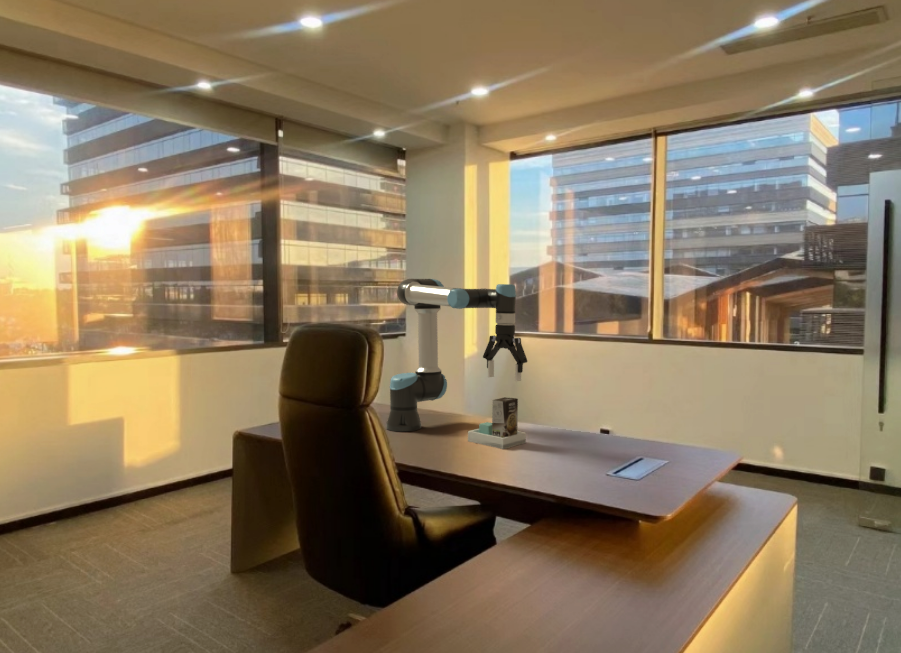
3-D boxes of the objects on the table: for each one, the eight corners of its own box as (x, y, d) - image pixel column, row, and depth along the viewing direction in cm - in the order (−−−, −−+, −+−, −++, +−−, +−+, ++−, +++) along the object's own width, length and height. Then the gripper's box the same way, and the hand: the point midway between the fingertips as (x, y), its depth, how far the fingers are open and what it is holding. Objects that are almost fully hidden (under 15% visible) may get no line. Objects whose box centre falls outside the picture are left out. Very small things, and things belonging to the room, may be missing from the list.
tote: (467, 441, 248) (467, 431, 248) (490, 435, 258) (491, 425, 258) (503, 449, 235) (503, 438, 235) (525, 442, 245) (525, 432, 245)
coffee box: (505, 443, 238) (505, 401, 237) (491, 441, 242) (491, 399, 241) (518, 439, 245) (518, 398, 244) (504, 436, 249) (504, 396, 248)
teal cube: (479, 436, 250) (479, 423, 249) (487, 434, 253) (487, 422, 253) (488, 438, 246) (488, 425, 246) (496, 436, 250) (496, 423, 249)
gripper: (474, 322, 247) (473, 376, 249) (525, 326, 230) (523, 383, 231) (487, 322, 253) (486, 374, 254) (537, 325, 235) (536, 381, 237)
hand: (504, 379), depth 243 cm, fingers open, 13 cm apart
